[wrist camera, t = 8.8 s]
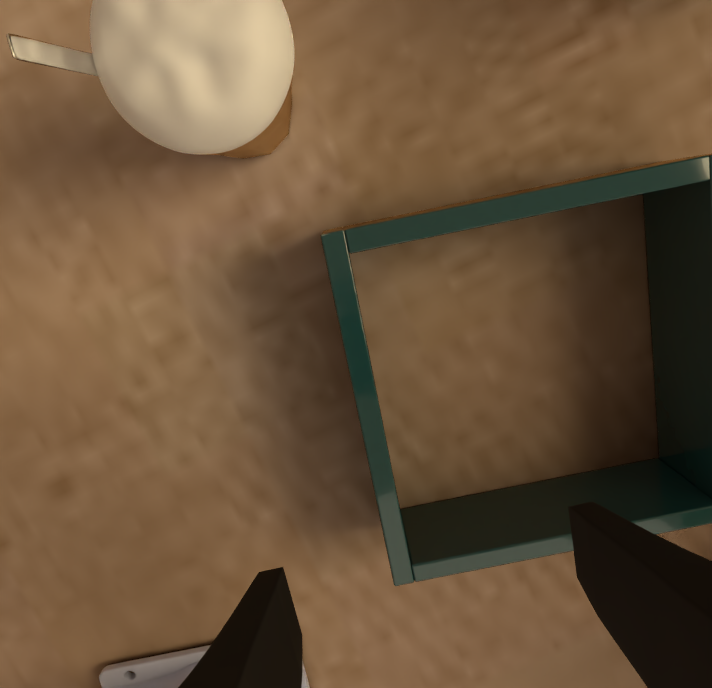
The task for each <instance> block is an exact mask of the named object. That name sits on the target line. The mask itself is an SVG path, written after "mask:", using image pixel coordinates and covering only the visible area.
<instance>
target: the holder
mask: <svg viewBox="0 0 712 688" xmlns="http://www.w3.org/2000/svg"><path fill="white" fill-rule="evenodd" d="M640 194H643V201H644V218H645V234H646V250H647V266H648V283H649V299H650V315H651V331H652V348H653V364H654V380H655V396H656V413H657V429H658V445H659V458H655V459H650V460H645V461H640V462H635V463H630V464H625V465H620V466H615V467H610V468H605V469H600V470H595V471H590V472H585V473H580V474H575V475H570V476H565V477H560V478H555V479H550V480H545V481H540V482H535V483H530V484H525V485H520V486H515V487H510V488H505V489H500V490H495V491H490V492H485V493H480V494H475V495H470V496H465V497H460V498H455V499H450V500H444V501H439V502H434V503H429V504H424V505H419V506H414V507H409V508H404V509H400V507H399V502H398V497H397V492H396V487H395V482H394V477H393V472H392V467H391V462H390V456H389V451H388V446H387V441H386V436H385V431H384V426H383V421H382V416H381V411H380V406H379V401H378V396H377V391H376V386H375V381H374V376H373V371H372V366H371V361H370V356H369V351H368V346H367V341H366V336H365V331H364V326H363V321H362V316H361V311H360V306H359V301H358V296H357V291H356V286H355V281H354V276H353V271H352V266H351V261H350V256H349V253H356V252H361V251H366V250H371V249H376V248H380V247H385V246H390V245H395V244H400V243H405V242H410V241H415V240H420V239H425V238H429V237H434V236H439V235H444V234H449V233H454V232H459V231H464V230H469V229H474V228H479V227H483V226H488V225H493V224H498V223H503V222H508V221H513V220H518V219H523V218H528V217H532V216H537V215H542V214H547V213H552V212H557V211H562V210H567V209H572V208H577V207H582V206H586V205H591V204H596V203H601V202H606V201H611V200H616V199H621V198H626V197H631V196H635V195H640ZM321 241H322V246H323V250H324V255H325V260H326V265H327V269H328V274H329V279H330V284H331V288H332V293H333V298H334V303H335V307H336V312H337V317H338V322H339V326H340V331H341V336H342V341H343V345H344V350H345V355H346V360H347V364H348V369H349V374H350V379H351V383H352V388H353V393H354V398H355V402H356V407H357V412H358V416H359V421H360V426H361V431H362V435H363V440H364V445H365V450H366V454H367V459H368V464H369V469H370V473H371V478H372V483H373V488H374V492H375V497H376V502H377V507H378V511H379V516H380V521H381V526H382V530H383V535H384V540H385V545H386V549H387V554H388V559H389V564H390V568H391V573H392V578H393V583H394V585H395V586H399V585H404V584H409V583H413V582H414V580H415V582H418V581H423V580H428V579H433V578H438V577H443V576H448V575H453V574H458V573H463V572H468V571H474V570H479V569H484V568H489V567H494V566H499V565H504V564H509V563H514V562H519V561H524V560H529V559H534V558H539V557H544V556H549V555H554V554H559V553H564V552H569V551H574V549H573V541H572V533H571V525H570V517H569V509H568V507H569V506H574V505H579V504H583V503H588V502H595V503H597V504H599V505H601V506H603V507H604V508H606V509H608V510H610V511H612V512H614V513H616V514H617V515H619V516H621V517H623V518H625V519H627V520H629V521H630V522H632V523H634V524H636V525H638V526H640V527H642V528H644V529H646V530H647V531H649V532H651V533H653V534H660V533H665V532H670V531H676V530H681V529H686V528H691V527H696V526H701V525H706V524H711V523H712V154H705V155H699V156H693V157H686V158H680V159H674V160H668V161H661V162H656V163H651V164H646V165H642V166H636V167H631V168H627V169H622V170H617V171H612V172H607V173H602V174H597V175H592V176H587V177H583V178H578V179H573V180H568V181H563V182H558V183H553V184H548V185H543V186H539V187H534V188H529V189H524V190H519V191H514V192H509V193H504V194H499V195H494V196H490V197H485V198H480V199H475V200H470V201H465V202H460V203H455V204H450V205H446V206H441V207H436V208H431V209H426V210H421V211H416V212H411V213H406V214H402V215H397V216H392V217H387V218H382V219H377V220H372V221H367V222H362V223H358V224H353V225H348V226H344V227H343V228H342V227H338V228H333V229H328V230H324V231H323V232H322V234H321Z"/></svg>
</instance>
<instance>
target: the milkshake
mask: <svg viewBox="0 0 712 688" xmlns="http://www.w3.org/2000/svg"><path fill="white" fill-rule="evenodd" d="M7 40H8V43H9V47H10V50H11V53H12V56H13V58H15V59H17V60H21V61H25V62H30V63H35V64H40V65H45V66H50V67H55V68H59V69H64V70H69V71H74V72H79V73H84V74H89V75H94V76H99V79H100V82H101V84H102V86H103V88H104V90H105V92H106V94H107V96H108V98H109V100H110V102H111V103H112V105H113V106H114V108H115V109H116V110H117V112H118V113H119V114H120V115H121V116H122V118H123V119H124V120H125V121H126V122H127V123H128V124H129V125H131V126H132V127H133V128H134V129H135V130H137V131H138V132H139V133H141V134H142V135H143V136H145V137H146V138H148V139H150V140H151V141H153V142H155V143H157V144H159V145H161V146H163V147H165V148H168V149H171V150H174V151H177V152H181V153H186V154H195V155H221V156H228V157H235V158H242V159H245V158H251V157H257V156H263V155H269V154H271V153H272V152H273V151H274V150H275V149H276V147H277V146H278V145H279V144H280V143H281V142H282V141H283V140H284V139H285V138H286V136H287V135H288V134H289V127H290V119H291V110H292V79H293V69H294V41H293V34H292V29H291V25H290V21H289V18H288V15H287V12H286V9H285V7H284V4H283V2H282V0H93V2H92V7H91V14H90V41H91V49H92V54H91V53H87V52H83V51H79V50H75V49H71V48H67V47H63V46H59V45H55V44H51V43H47V42H43V41H39V40H35V39H31V38H27V37H23V36H19V35H14V34H7Z"/></svg>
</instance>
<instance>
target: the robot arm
mask: <svg viewBox="0 0 712 688" xmlns="http://www.w3.org/2000/svg"><path fill="white" fill-rule="evenodd" d="M568 509H569V517H570V525H571V533H572V541H573V549H574V557H575V565H576V573H577V578H578V580H579V582H580V584H581V586H582V588H583V589H584V591H585V593H586V595H587V597H588V599H589V601H590V603H591V604H592V606H593V608H594V610H595V612H596V613H597V615H598V617H599V618H600V620H601V621H602V623H603V624H604V626H605V627H606V629H607V630H608V631H609V633H610V634H611V636H612V637H613V639H614V640H615V642H616V643H617V644H618V646H619V647H620V649H621V650H622V652H623V653H624V654H625V656H626V657H627V659H628V660H629V662H630V663H631V664H632V666H633V667H634V669H635V670H636V671H637V673H638V674H639V676H640V677H641V679H642V680H643V681H644V683H645V684H646V686H647V687H648V688H712V561H710V560H708V559H705V558H703V557H701V556H699V555H697V554H694V553H692V552H690V551H688V550H686V549H683V548H681V547H679V546H677V545H675V544H673V543H671V542H669V541H667V540H665V539H663V538H661V537H659V536H657V535H655V534H653V533H651V532H649V531H647V530H646V529H644V528H642V527H640V526H638V525H636V524H634V523H632V522H630V521H629V520H627V519H625V518H623V517H621V516H619V515H617V514H616V513H614V512H612V511H610V510H608V509H606V508H604V507H603V506H601V505H599V504H597V503H595V502H588V503H583V504H579V505H574V506H569V507H568ZM129 671H132V672H134V673H131V672H129ZM99 681H100V684H101V686H102V688H310V686H309V682H308V678H307V675H306V671H305V667H304V664H303V660H302V633H301V629H300V626H299V622H298V619H297V615H296V611H295V608H294V604H293V601H292V597H291V594H290V590H289V587H288V583H287V580H286V576H285V572H284V569H283V567H281V568H276V569H272V570H267V571H262V572H259V573H258V575H257V576H256V577H255V579H254V580H253V582H252V584H251V585H250V587H249V588H248V590H247V591H246V593H245V595H244V596H243V598H242V599H241V601H240V603H239V604H238V606H237V607H236V609H235V610H234V612H233V613H232V615H231V617H230V618H229V619H228V621H227V622H226V624H225V625H224V627H223V628H222V630H221V631H220V633H219V634H218V636H217V637H216V639H215V640H214V642H213V643H212V644H211V645H208V646H203V647H198V648H193V649H187V650H182V651H177V652H172V653H167V654H162V655H157V656H152V657H147V658H142V659H137V660H132V661H127V662H122V663H117V664H112V665H108V666H105V667H104V668H103V669H102V671H101V673H100V676H99Z"/></svg>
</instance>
